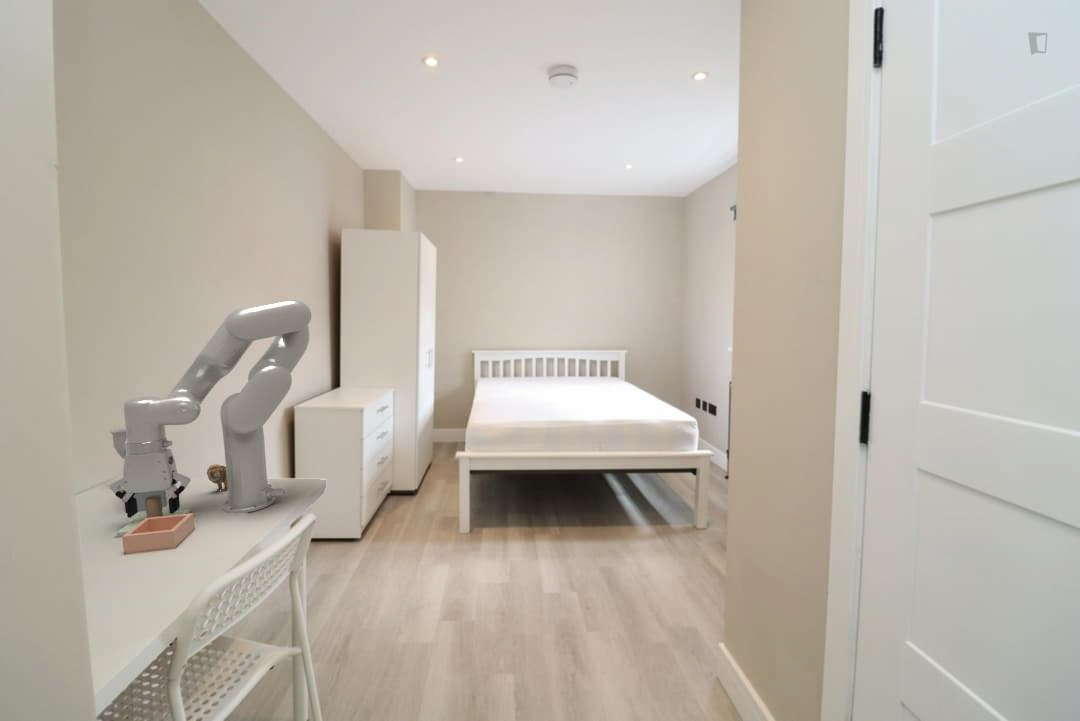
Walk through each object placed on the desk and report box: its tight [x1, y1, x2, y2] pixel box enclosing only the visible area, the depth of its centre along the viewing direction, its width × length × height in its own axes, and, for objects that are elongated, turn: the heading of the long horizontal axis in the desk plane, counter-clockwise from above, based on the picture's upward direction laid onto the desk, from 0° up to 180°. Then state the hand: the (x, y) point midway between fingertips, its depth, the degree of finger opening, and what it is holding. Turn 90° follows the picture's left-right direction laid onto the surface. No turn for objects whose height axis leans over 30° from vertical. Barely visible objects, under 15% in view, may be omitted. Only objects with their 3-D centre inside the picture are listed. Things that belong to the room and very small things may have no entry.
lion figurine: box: [206, 463, 228, 492], centre depth 149 cm, size 15×5×9 cm, turn 160°
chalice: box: [109, 426, 127, 490], centre depth 151 cm, size 7×7×18 cm
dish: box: [121, 512, 196, 555], centre depth 114 cm, size 10×10×4 cm
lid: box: [116, 495, 191, 538], centre depth 123 cm, size 11×11×7 cm
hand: (153, 513), depth 123 cm, fingers open, 8 cm apart
